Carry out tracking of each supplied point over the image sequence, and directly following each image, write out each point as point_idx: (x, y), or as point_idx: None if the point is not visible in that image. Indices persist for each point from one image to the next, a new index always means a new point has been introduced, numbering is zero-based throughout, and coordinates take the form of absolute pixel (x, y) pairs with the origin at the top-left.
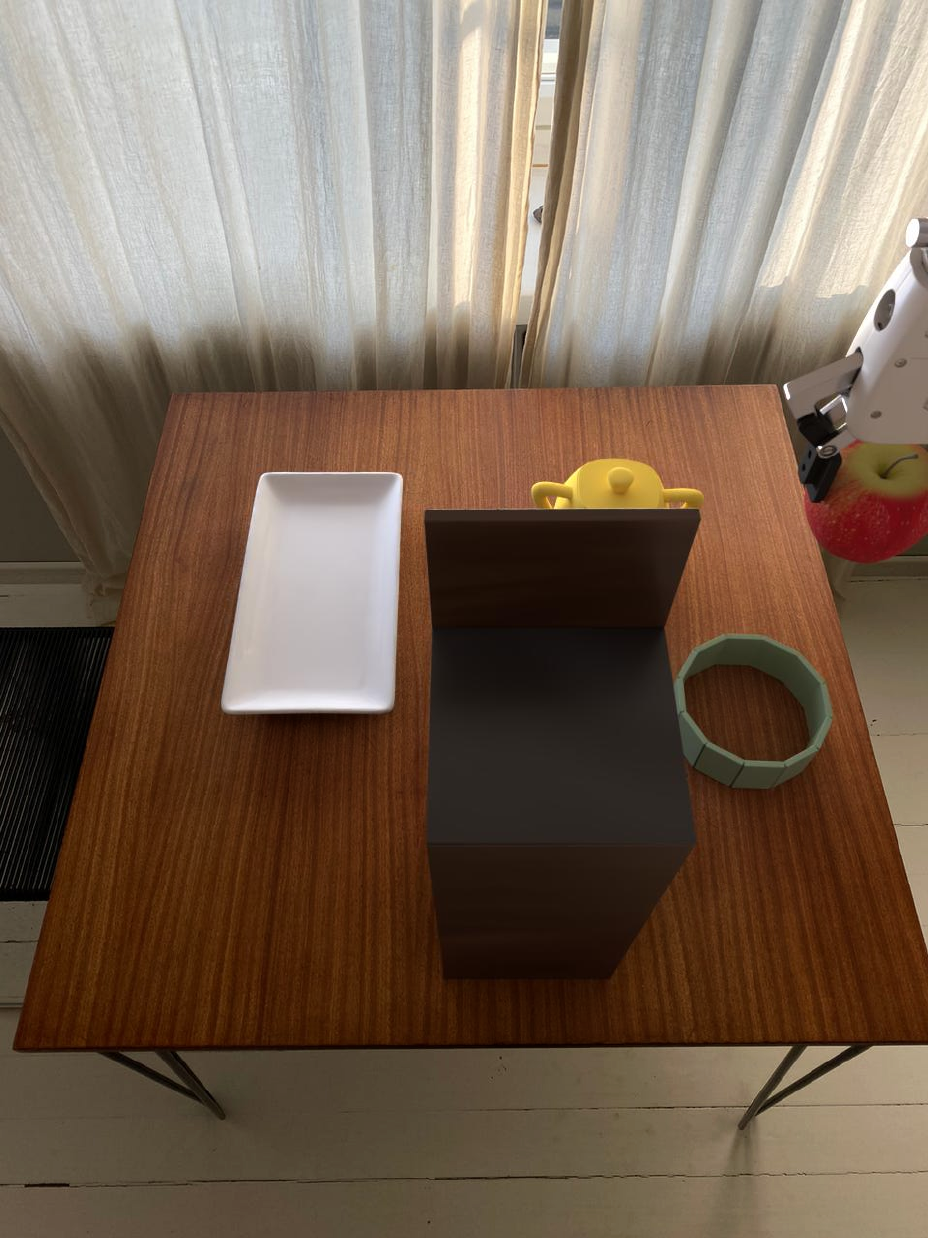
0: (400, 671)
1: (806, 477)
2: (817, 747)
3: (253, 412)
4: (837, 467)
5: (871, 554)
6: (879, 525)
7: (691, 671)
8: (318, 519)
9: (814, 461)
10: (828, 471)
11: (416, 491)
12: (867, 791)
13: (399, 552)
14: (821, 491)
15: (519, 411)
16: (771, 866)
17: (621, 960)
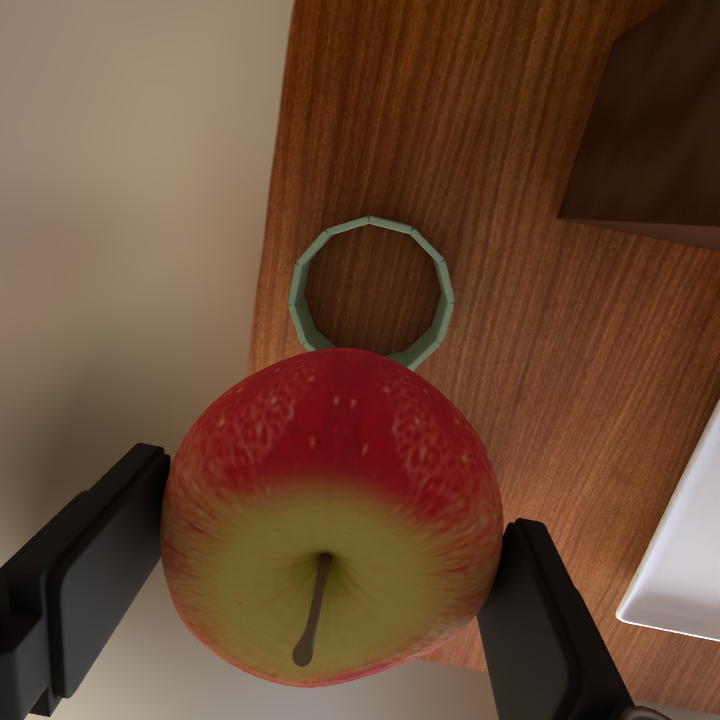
0: (684, 414)
1: (588, 610)
2: (326, 232)
3: (712, 703)
4: (580, 651)
5: (388, 358)
6: (414, 412)
7: (404, 354)
8: (706, 586)
9: (621, 680)
10: (596, 636)
11: (591, 594)
12: (274, 193)
13: (654, 537)
14: (550, 555)
15: (459, 653)
16: (401, 131)
17: (663, 4)
